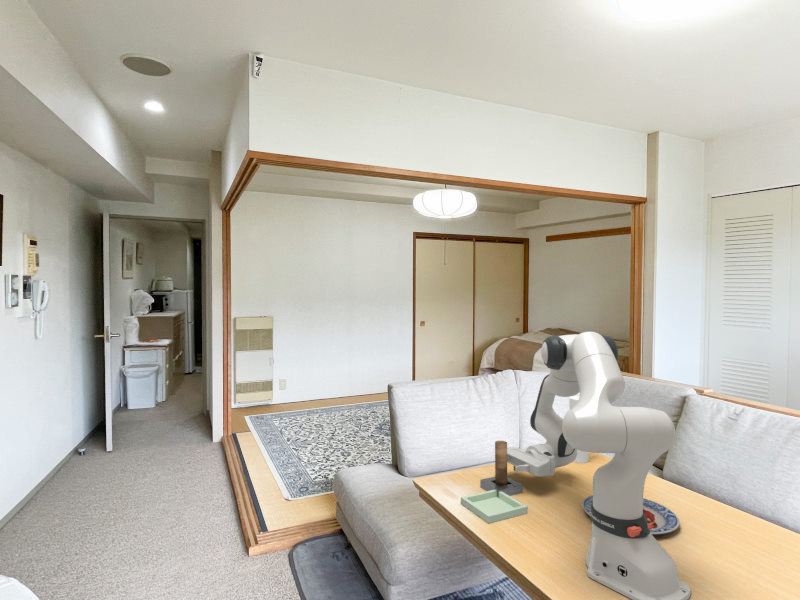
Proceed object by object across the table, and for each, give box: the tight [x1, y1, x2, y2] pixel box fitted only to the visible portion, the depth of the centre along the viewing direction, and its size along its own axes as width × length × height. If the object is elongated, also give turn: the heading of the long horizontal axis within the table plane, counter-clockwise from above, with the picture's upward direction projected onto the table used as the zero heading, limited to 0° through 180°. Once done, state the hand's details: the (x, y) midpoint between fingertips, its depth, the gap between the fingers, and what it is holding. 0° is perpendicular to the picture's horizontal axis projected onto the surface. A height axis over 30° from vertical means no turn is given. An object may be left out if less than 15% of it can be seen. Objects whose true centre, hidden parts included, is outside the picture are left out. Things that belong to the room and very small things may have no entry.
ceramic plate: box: [582, 494, 680, 535], centre depth 138 cm, size 26×26×3 cm
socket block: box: [479, 476, 524, 497], centre depth 157 cm, size 10×10×3 cm
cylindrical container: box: [569, 395, 590, 464], centre depth 186 cm, size 7×7×25 cm
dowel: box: [494, 440, 508, 486], centre depth 157 cm, size 4×4×16 cm
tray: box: [460, 490, 529, 524], centre depth 143 cm, size 14×14×2 cm
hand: (505, 464), depth 157 cm, fingers open, 8 cm apart
